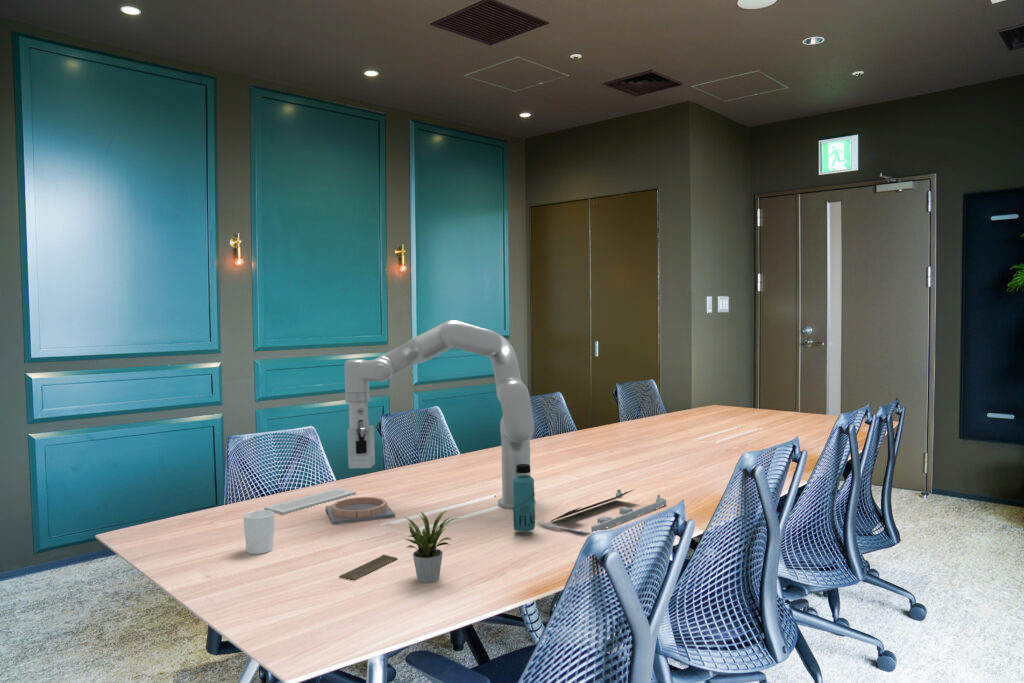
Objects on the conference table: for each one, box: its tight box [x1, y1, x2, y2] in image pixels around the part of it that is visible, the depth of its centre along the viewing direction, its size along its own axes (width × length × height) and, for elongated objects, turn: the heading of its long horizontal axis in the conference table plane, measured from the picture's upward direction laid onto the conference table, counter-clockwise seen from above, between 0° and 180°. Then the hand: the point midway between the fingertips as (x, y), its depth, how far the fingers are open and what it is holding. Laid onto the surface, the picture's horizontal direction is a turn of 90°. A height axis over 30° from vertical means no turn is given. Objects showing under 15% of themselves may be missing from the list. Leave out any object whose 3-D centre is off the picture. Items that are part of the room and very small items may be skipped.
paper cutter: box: [538, 488, 667, 535], centre depth 213 cm, size 18×45×6 cm, turn 136°
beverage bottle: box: [512, 464, 536, 533], centre depth 196 cm, size 6×7×20 cm
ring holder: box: [325, 496, 396, 525], centre depth 220 cm, size 19×19×3 cm
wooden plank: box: [338, 554, 398, 581], centre depth 171 cm, size 17×1×5 cm
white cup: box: [242, 509, 275, 555], centre depth 185 cm, size 8×8×10 cm
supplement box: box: [346, 425, 376, 469], centre depth 220 cm, size 7×7×13 cm
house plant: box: [401, 510, 461, 584], centre depth 163 cm, size 14×14×16 cm
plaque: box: [263, 487, 357, 516], centre depth 235 cm, size 30×2×10 cm
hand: (358, 450), depth 220 cm, fingers closed on supplement box, 9 cm apart
